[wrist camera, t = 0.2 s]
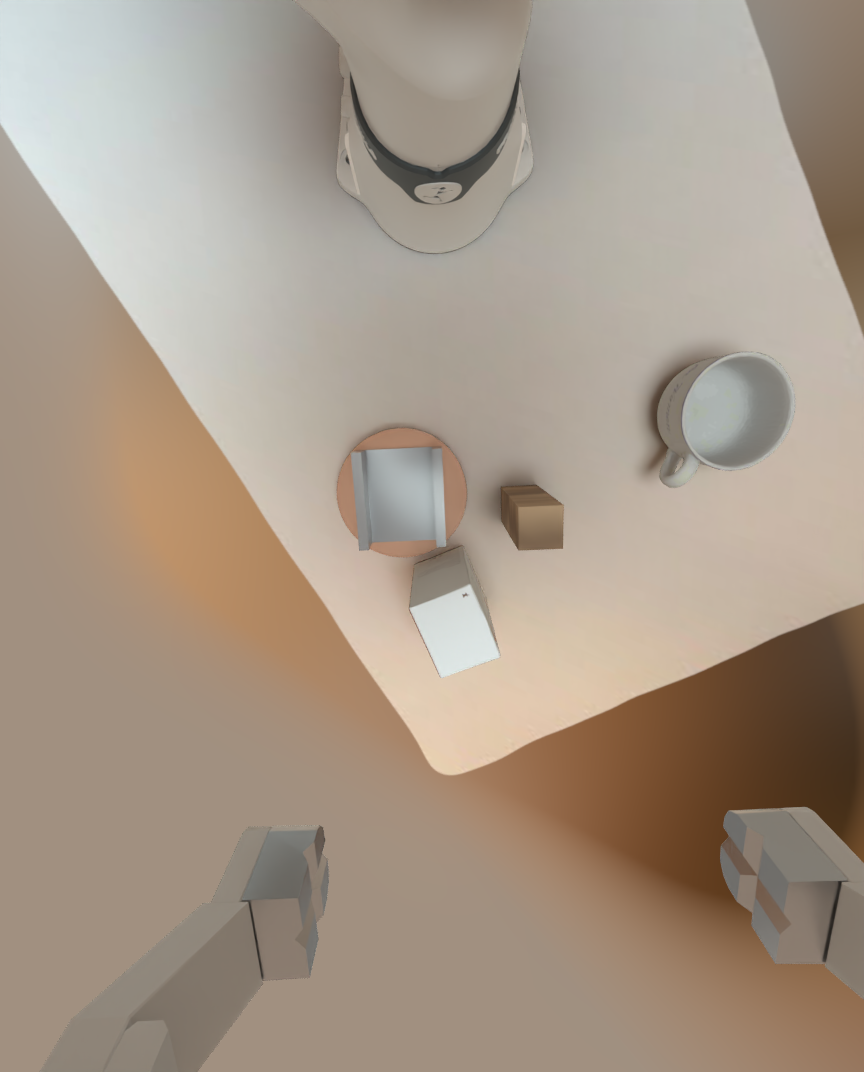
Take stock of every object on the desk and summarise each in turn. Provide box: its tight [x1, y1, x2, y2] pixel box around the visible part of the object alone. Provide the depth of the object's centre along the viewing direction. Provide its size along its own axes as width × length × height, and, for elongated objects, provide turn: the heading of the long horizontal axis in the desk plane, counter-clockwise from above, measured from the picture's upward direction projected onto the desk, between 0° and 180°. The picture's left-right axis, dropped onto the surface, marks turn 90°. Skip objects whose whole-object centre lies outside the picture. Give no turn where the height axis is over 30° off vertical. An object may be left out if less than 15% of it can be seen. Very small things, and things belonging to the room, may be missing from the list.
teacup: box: [657, 352, 795, 488], centre depth 50 cm, size 14×11×8 cm
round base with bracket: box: [337, 428, 467, 557], centre depth 53 cm, size 14×14×6 cm
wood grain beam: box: [501, 485, 564, 550], centre depth 50 cm, size 4×4×12 cm
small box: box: [409, 546, 500, 678], centre depth 52 cm, size 8×6×13 cm
